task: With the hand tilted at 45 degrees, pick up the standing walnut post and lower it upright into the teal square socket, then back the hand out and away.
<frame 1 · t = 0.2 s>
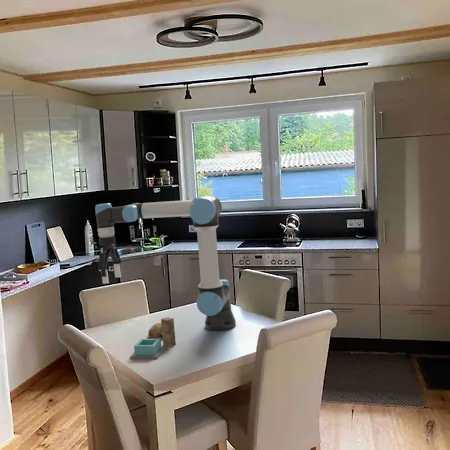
hand: (112, 280, 248), 27 cm above the table, tool pointing down, fingers open, 13 cm apart
teal square socket: (148, 353, 224), on the table
bread roll: (158, 336, 247), on the table
walnut post: (169, 344, 233), on the table
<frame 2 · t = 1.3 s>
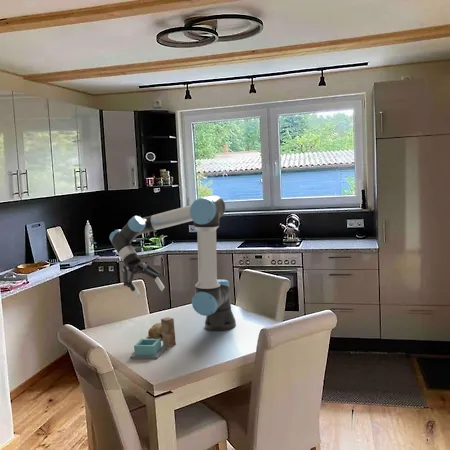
hand: (151, 292, 238), 23 cm above the table, tool tilted 45°, fingers open, 13 cm apart
nothing on the table moved.
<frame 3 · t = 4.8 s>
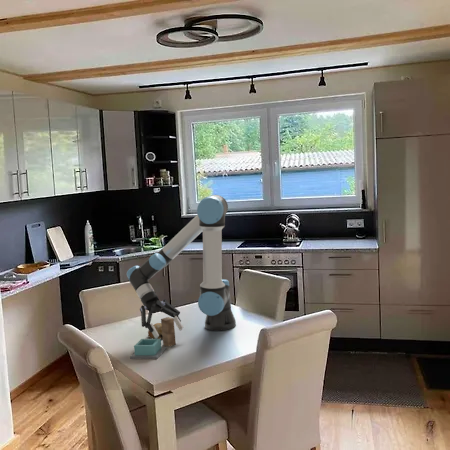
hand: (169, 333, 231), 6 cm above the table, tool tilted 45°, fingers open, 13 cm apart
nothing on the table moved.
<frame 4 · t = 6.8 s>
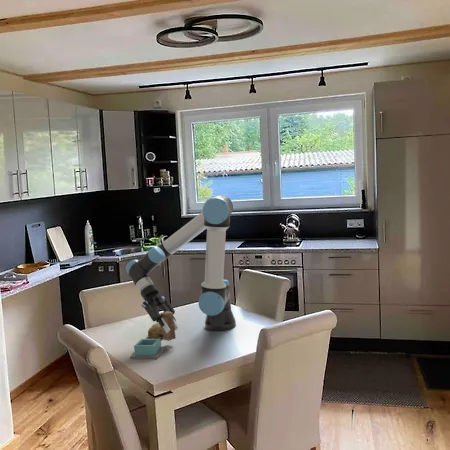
hand: (172, 329, 230), 8 cm above the table, tool tilted 45°, fingers closed on walnut post, 4 cm apart
walnut post: (169, 338, 233), point 3 cm above the table, touching gripper
everything else where it was.
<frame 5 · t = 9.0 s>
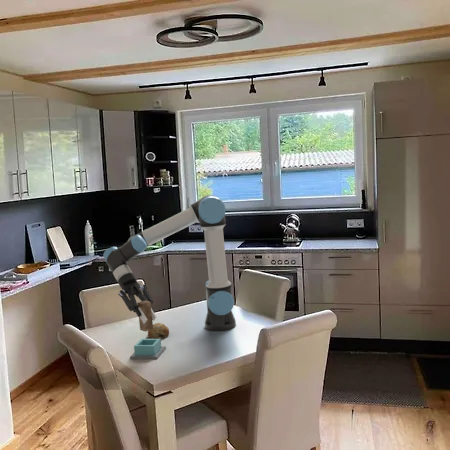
hand: (150, 320, 219), 16 cm above the table, tool tilted 45°, fingers closed on walnut post, 4 cm apart
walnut post: (146, 329, 222), point 11 cm above the table, touching gripper
everything else where it was.
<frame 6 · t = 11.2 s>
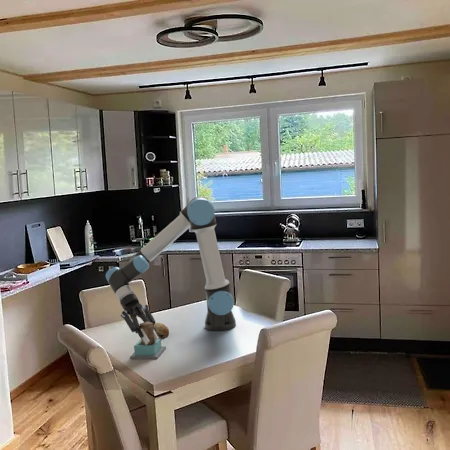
hand: (152, 341, 220), 6 cm above the table, tool tilted 45°, fingers closed on teal square socket, walnut post, 4 cm apart
walnut post: (148, 350, 223), point 2 cm above the table, touching gripper
everything else where it was.
when the fingers open (6 cm above the table, at t = 11.2 s): walnut post stays where it is, resting on teal square socket.
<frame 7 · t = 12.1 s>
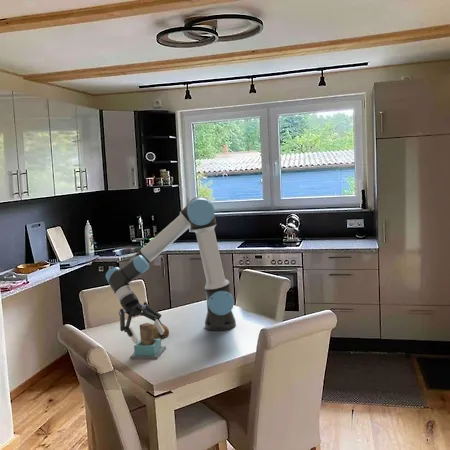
hand: (150, 337, 221), 8 cm above the table, tool tilted 45°, fingers open, 13 cm apart
walnut post: (148, 351, 223), point 1 cm above the table, touching teal square socket
everything else where it was.
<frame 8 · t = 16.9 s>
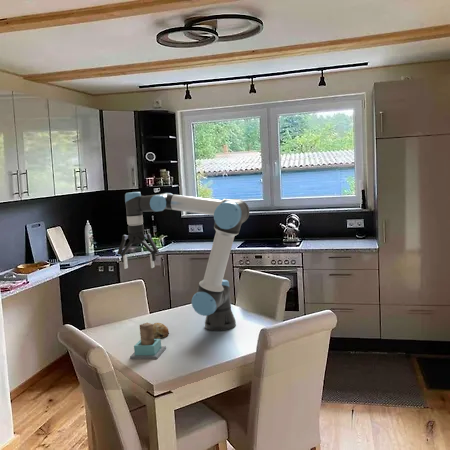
hand: (139, 268, 251), 32 cm above the table, tool pointing down, fingers open, 13 cm apart
nothing on the table moved.
at the end: walnut post 0.4 cm off-centre on the teal square socket, point 1.0 cm above the teal square socket's base; walnut post tilted 0°; the gripper is holding nothing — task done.
